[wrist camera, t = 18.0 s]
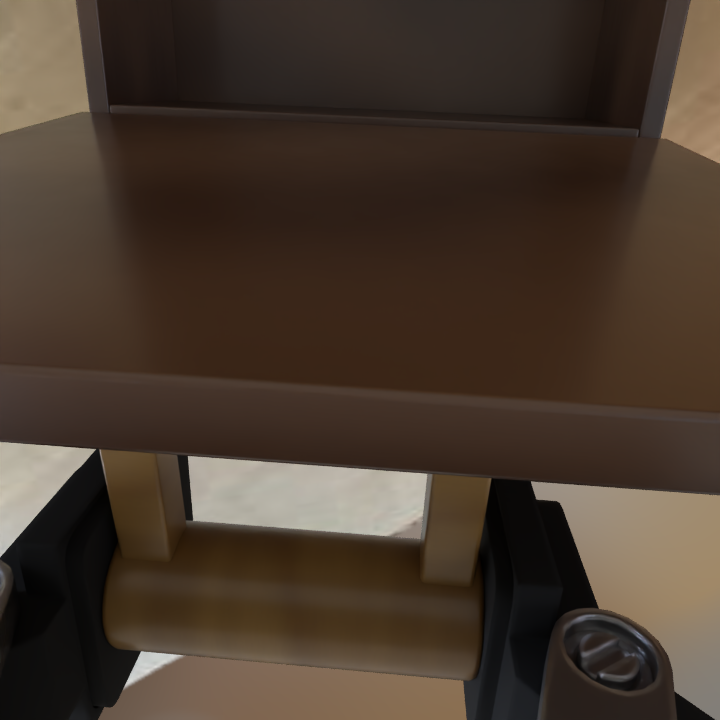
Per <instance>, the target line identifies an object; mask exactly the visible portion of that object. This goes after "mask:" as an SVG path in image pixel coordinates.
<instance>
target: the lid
mask: <svg viewBox="0 0 720 720" xmlns="http://www.w3.org/2000/svg"><path fill="white" fill-rule="evenodd" d="M0 442H9V443H23V444H36V445H49V446H63V447H76V448H90V449H99V451H100V456H101V461H102V466H103V471H104V475H105V480H106V485H107V490H108V495H109V500H110V504H111V509H112V514H113V519H114V524H115V528H116V533H117V538H118V543H117V545H116V548H115V550H114V553H113V555H112V558H111V561H110V565H109V568H108V572H107V576H106V581H105V586H104V593H103V602H102V622H103V629H104V634H105V637H106V639H107V641H108V642H109V644H110V645H112V646H113V647H115V648H117V649H122V650H133V651H144V652H155V653H166V654H177V655H188V656H199V657H211V658H221V659H232V660H243V661H255V662H265V663H277V664H287V665H299V666H309V667H321V668H331V669H342V670H354V671H364V672H375V673H386V674H387V673H388V674H398V675H408V676H420V677H430V678H441V679H453V680H463V681H470V680H473V679H475V678H476V676H477V673H478V670H479V667H480V662H481V655H482V647H483V634H484V581H483V570H482V562H481V557H480V553H479V549H480V543H481V538H482V532H483V526H484V520H485V514H486V508H487V502H488V496H489V491H490V485H491V479H492V478H494V479H507V480H521V481H535V482H547V483H561V484H574V485H589V486H601V487H615V488H628V489H642V490H655V491H669V492H683V493H696V494H709V495H720V164H719V163H717V162H715V161H713V160H710V159H708V158H706V157H704V156H702V155H700V154H698V153H696V152H693V151H691V150H689V149H687V148H685V147H683V146H681V145H678V144H676V143H674V142H672V141H670V140H668V139H661V138H639V137H618V136H596V135H574V134H553V133H531V132H509V131H488V130H466V129H444V128H422V127H401V126H379V125H357V124H336V123H314V122H292V121H270V120H249V119H227V118H205V117H184V116H162V115H140V114H119V113H97V112H80V113H76V114H72V115H69V116H65V117H62V118H58V119H54V120H51V121H47V122H43V123H40V124H36V125H32V126H29V127H25V128H21V129H18V130H14V131H10V132H7V133H3V134H0ZM177 455H184V456H198V457H211V458H224V459H238V460H251V461H265V462H278V463H292V464H305V465H319V466H332V467H346V468H359V469H372V470H386V471H399V472H413V473H426V474H427V483H426V493H425V502H424V511H423V521H422V530H421V539H414V538H401V537H389V536H376V535H364V534H351V533H338V532H326V531H313V530H301V529H288V528H276V527H263V526H251V525H238V524H226V523H213V522H200V521H188V520H186V518H185V510H184V503H183V496H182V488H181V481H180V473H179V466H178V458H177Z"/></svg>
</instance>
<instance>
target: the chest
mask: <svg viewBox="0 0 720 720" xmlns="http://www.w3.org/2000/svg"><path fill="white" fill-rule="evenodd" d="M690 1H691V0H76V5H77V13H78V21H79V29H80V37H81V45H82V53H83V61H84V69H85V77H86V85H87V93H88V101H89V109H90V112H97V113H119V114H140V115H162V116H184V117H205V118H227V119H249V120H270V121H292V122H314V123H336V124H357V125H379V126H401V127H422V128H444V129H466V130H488V131H509V132H531V133H553V134H574V135H596V136H618V137H639V138H660V137H661V133H662V128H663V124H664V119H665V115H666V110H667V105H668V101H669V96H670V92H671V87H672V83H673V78H674V74H675V69H676V65H677V60H678V55H679V51H680V46H681V42H682V37H683V33H684V28H685V24H686V19H687V14H688V10H689V5H690Z"/></svg>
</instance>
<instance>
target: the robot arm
mask: <svg viewBox="0 0 720 720" xmlns="http://www.w3.org/2000/svg"><path fill="white" fill-rule="evenodd" d="M177 458H178V466H179V473H180V481H181V488H182V496H183V503H184V510H185V518H186V520H188V521H193V514H192V502H191V490H190V478H189V466H188V456H184V455H177ZM117 543H118V538H117V533H116V528H115V524H114V519H113V514H112V509H111V504H110V500H109V495H108V490H107V485H106V480H105V475H104V471H103V466H102V461H101V456H100V451H99V449H96V450H95V451H94V452H93V454H92V455H91V456H90V457H89V458H88V459H87V461H86V462H85V463H84V464H83V465H82V466H81V467H80V468H79V469H78V470H77V471H75V472H74V474H73V475H72V476H71V477H70V478H69V479H68V480H67V482H66V483H65V484H64V485H63V486H62V487H61V488H60V490H59V491H58V492H57V493H56V494H55V495H54V496H53V498H52V499H51V500H50V501H49V502H48V503H47V505H46V506H45V507H44V508H43V509H42V510H41V511H40V513H39V514H38V515H37V516H36V517H35V518H34V519H33V521H32V522H31V523H30V524H29V525H28V526H27V527H26V529H25V530H24V531H23V532H22V533H21V534H20V535H19V537H18V538H17V539H16V540H15V541H14V542H13V543H12V545H11V546H10V547H9V548H8V549H7V550H6V552H5V553H4V554H3V555H2V556H1V557H0V720H98V718H99V716H100V714H101V712H102V710H103V708H104V707H113V706H114V705H115V703H116V702H117V700H118V699H119V696H120V694H121V692H122V690H123V688H124V686H125V684H126V682H127V680H128V678H129V676H130V673H131V671H132V669H133V667H134V665H135V663H136V661H137V659H138V657H139V655H140V652H141V651H133V650H122V649H117V648H115V647H113V646H112V645H110V644H109V642H108V641H107V639H106V637H105V634H104V629H103V622H102V602H103V593H104V586H105V581H106V576H107V572H108V568H109V565H110V561H111V558H112V555H113V553H114V550H115V548H116V545H117ZM479 553H480V557H481V562H482V570H483V581H484V634H483V647H482V655H481V662H480V667H479V670H478V673H477V676H476V678H475V679H473V680H470V681H464V694H465V704H466V716H467V720H715V719H713V718H712V717H710V716H709V715H707V714H706V713H705V712H703V711H702V710H700V709H699V708H697V707H696V706H695V705H693V704H692V703H690V702H689V701H687V700H686V699H685V698H683V697H682V696H680V695H679V694H677V693H676V692H674V682H673V672H672V667H671V664H670V661H669V658H668V655H667V653H666V652H665V650H664V649H663V647H662V646H661V645H660V643H659V641H658V640H657V639H655V637H654V636H652V635H651V634H650V633H649V632H648V631H647V630H646V629H645V628H644V627H642V626H640V625H639V624H637V623H636V622H634V621H632V620H631V619H629V618H627V617H624V616H622V615H620V614H617V613H615V612H612V611H608V610H602V609H599V608H598V605H597V602H596V600H595V597H594V594H593V591H592V589H591V586H590V583H589V580H588V578H587V575H586V572H585V569H584V567H583V564H582V561H581V558H580V555H579V553H578V550H577V547H576V544H575V542H574V539H573V536H572V534H571V531H570V528H569V525H568V522H567V520H566V517H565V514H564V512H563V509H562V507H561V505H560V503H559V502H557V501H547V500H536V497H535V494H534V491H533V488H532V484H531V481H521V480H507V479H494V478H492V479H491V485H490V491H489V496H488V502H487V508H486V514H485V520H484V526H483V532H482V538H481V543H480V549H479Z"/></svg>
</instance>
